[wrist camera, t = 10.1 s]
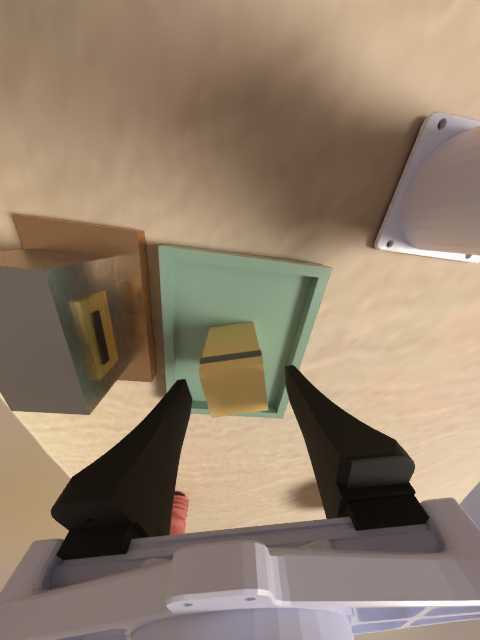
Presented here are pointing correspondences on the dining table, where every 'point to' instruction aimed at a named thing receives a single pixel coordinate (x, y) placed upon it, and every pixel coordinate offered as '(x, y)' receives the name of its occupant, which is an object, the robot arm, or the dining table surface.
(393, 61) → the dining table surface
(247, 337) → the block
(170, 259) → the tray
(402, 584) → the robot arm
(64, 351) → the box
